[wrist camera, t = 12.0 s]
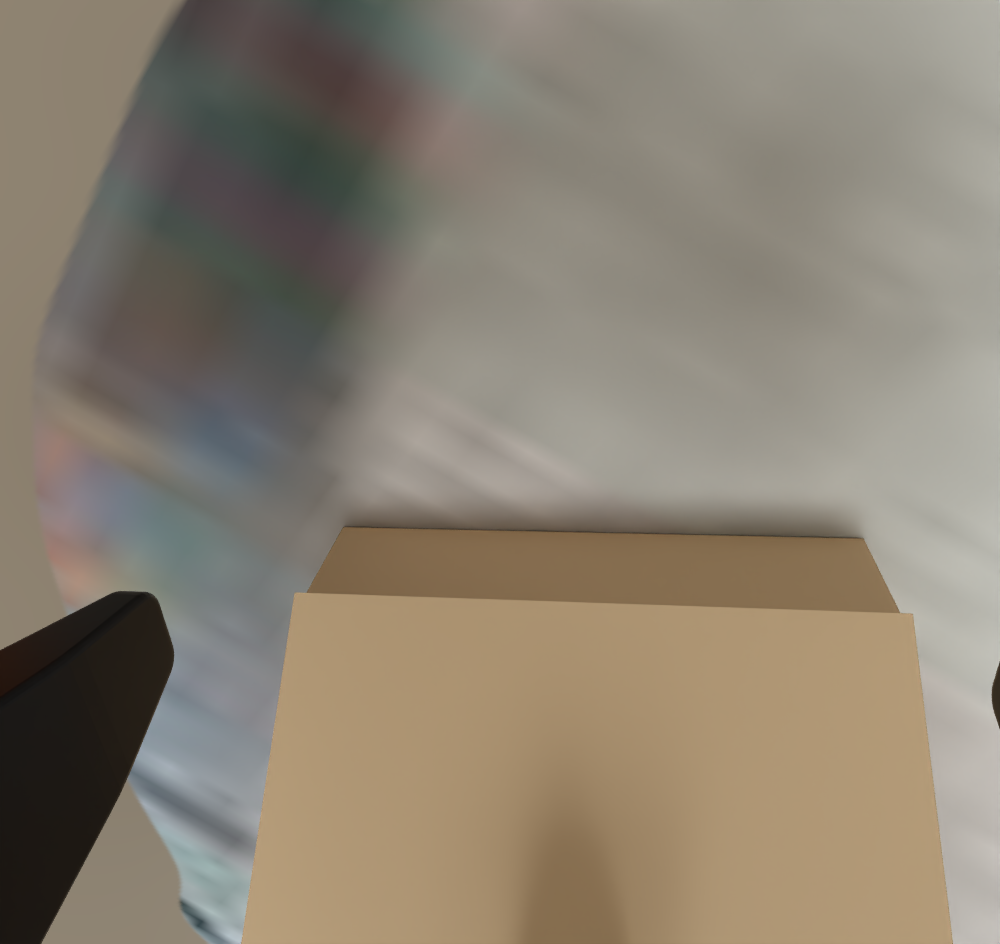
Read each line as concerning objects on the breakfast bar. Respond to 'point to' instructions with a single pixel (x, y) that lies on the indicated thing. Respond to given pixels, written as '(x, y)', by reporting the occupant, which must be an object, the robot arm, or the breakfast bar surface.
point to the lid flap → (596, 777)
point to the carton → (607, 568)
